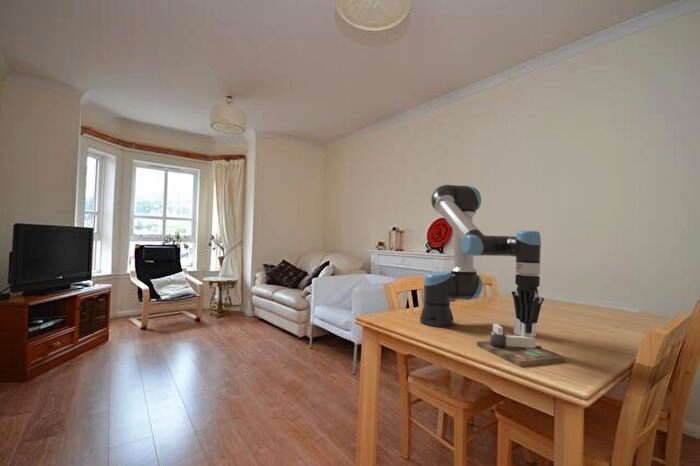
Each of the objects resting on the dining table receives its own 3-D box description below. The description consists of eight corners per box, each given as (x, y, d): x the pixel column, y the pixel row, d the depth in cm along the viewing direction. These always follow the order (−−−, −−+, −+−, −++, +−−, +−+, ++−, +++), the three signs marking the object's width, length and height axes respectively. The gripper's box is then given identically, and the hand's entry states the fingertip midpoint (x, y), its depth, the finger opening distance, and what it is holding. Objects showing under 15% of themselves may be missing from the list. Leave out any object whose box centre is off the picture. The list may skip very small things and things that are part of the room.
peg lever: (493, 347, 110) (493, 327, 111) (488, 342, 116) (488, 323, 116) (544, 350, 108) (544, 330, 108) (537, 345, 114) (537, 326, 114)
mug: (530, 339, 126) (530, 309, 126) (507, 334, 132) (507, 305, 132) (539, 334, 134) (539, 305, 135) (517, 329, 141) (517, 302, 141)
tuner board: (476, 345, 118) (476, 340, 118) (516, 342, 123) (516, 337, 123) (519, 366, 98) (519, 361, 98) (565, 361, 103) (565, 356, 103)
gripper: (505, 272, 119) (504, 336, 119) (531, 276, 107) (530, 348, 107) (523, 272, 121) (521, 335, 121) (551, 277, 108) (549, 347, 108)
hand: (525, 341), depth 114 cm, fingers closed
